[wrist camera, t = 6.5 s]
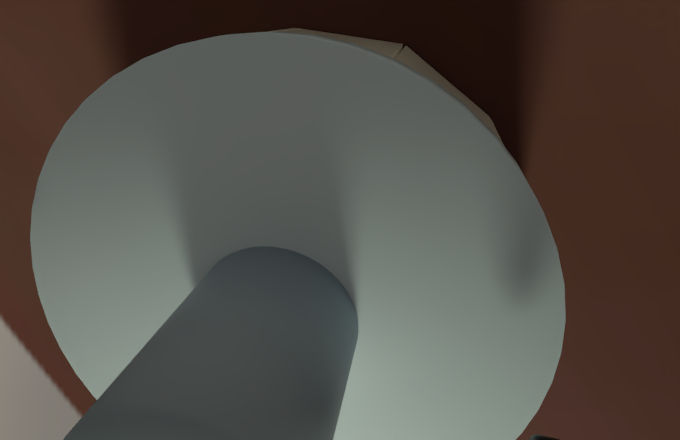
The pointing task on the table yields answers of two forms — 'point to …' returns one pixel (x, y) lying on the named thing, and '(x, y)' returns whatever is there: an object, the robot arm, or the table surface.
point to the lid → (293, 252)
